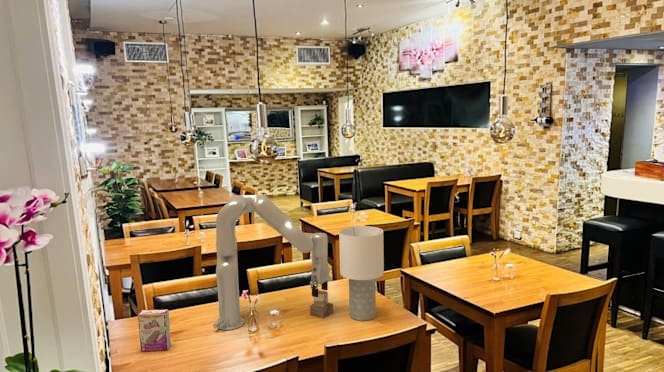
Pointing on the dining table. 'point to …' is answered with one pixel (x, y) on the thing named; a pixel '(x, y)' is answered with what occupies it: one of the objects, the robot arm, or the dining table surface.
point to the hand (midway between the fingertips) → (319, 293)
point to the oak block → (321, 299)
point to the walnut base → (321, 310)
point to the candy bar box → (154, 330)
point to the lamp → (361, 267)
